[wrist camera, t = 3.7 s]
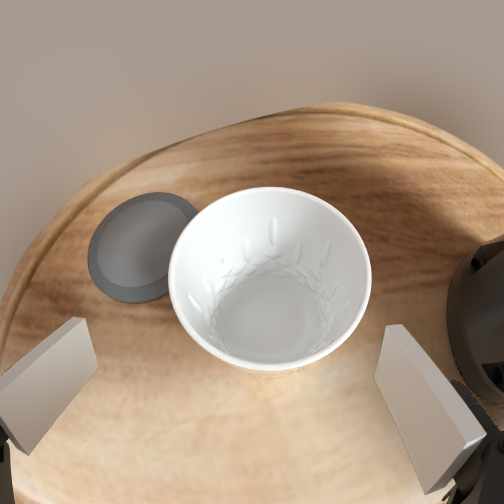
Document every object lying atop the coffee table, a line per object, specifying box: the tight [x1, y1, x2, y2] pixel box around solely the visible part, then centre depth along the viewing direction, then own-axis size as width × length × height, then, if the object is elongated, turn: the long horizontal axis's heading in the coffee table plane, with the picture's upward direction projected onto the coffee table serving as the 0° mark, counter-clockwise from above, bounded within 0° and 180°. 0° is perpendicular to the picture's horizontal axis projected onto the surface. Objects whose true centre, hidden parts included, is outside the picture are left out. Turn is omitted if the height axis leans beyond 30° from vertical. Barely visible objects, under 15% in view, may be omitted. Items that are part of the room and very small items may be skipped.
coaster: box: [88, 192, 198, 304], centre depth 23 cm, size 11×11×1 cm
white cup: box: [168, 187, 372, 378], centre depth 15 cm, size 8×8×10 cm
